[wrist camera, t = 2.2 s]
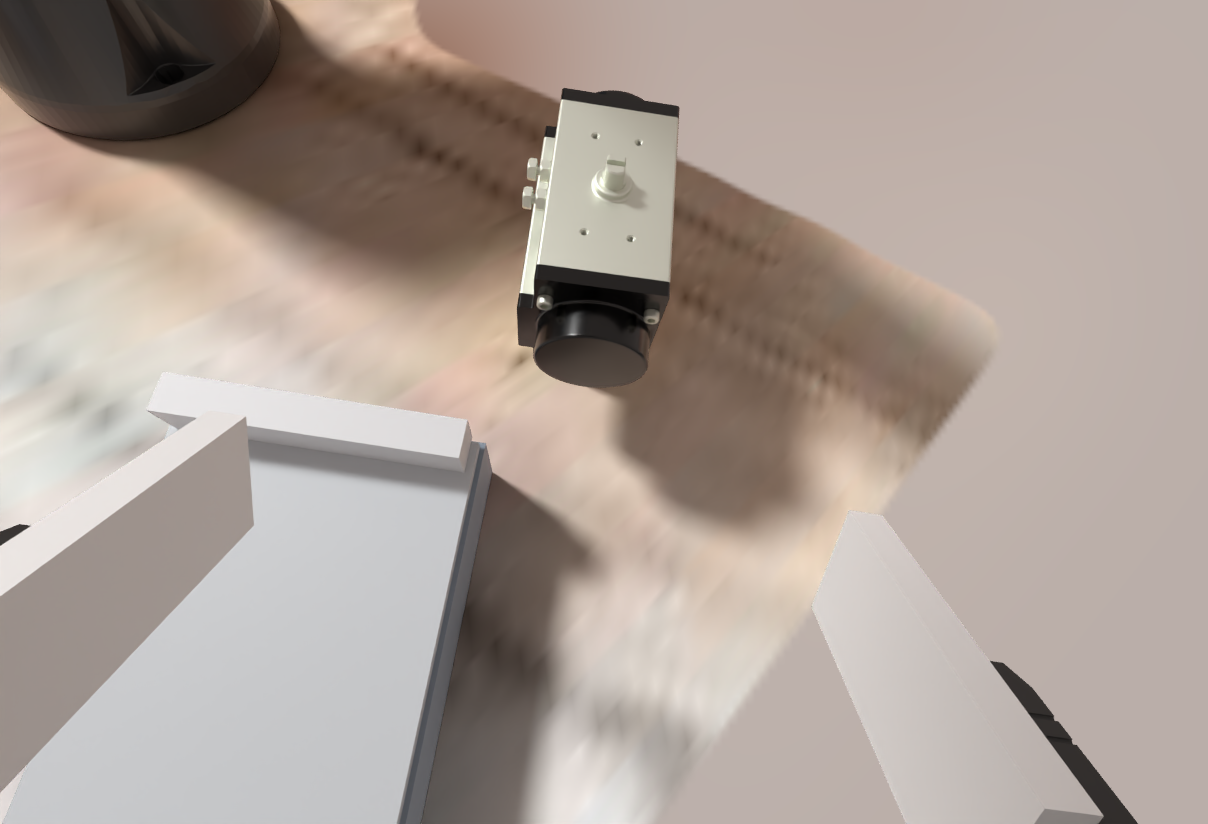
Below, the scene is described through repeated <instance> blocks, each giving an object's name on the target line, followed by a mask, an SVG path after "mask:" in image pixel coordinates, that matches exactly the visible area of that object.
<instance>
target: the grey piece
mask: <svg viewBox="0 0 1208 824" xmlns="http://www.w3.org/2000/svg"><path fill="white" fill-rule="evenodd" d="M146 410H147V411H148V412H150V413H152V414H153V415H155V416H157V417H158V418H160V419H162V420H163V421H165V422H166V423H168V424H170V426H169V428H168V431H167V433H166V435H165V438H164V439H166V438H167V437H169V436H170V435H172V434H173V433H175V432H176V431H178V430H179V429H181V428H183V427H184V426H186V425H187V424H189V423H190V422H192V421H193V420H195V419H196V418H198V417H199V416H201V415H203V414H204V413H206V412H207V411H209V410H210V411H216V412H223V413H229V414H235V415H242V416H246V420H247V434H248V448H249V462H250V476H251V490H252V504H253V518H254V526H253V527H252V528H251V529H250V530H249V531H248V532H247V533H246V534H245V535H244V536H243V537H242V538H241V540H240V541H239V542H238V543H237V544H236V545H235V546H234V547H233V548H232V549H231V550H230V551H229V552H228V553H227V554H226V555H225V556H224V557H223V558H222V560H221V561H220V562H219V563H218V564H217V565H216V566H215V567H214V568H213V569H212V570H211V571H210V572H209V573H208V574H207V575H206V576H205V577H204V578H203V580H202V581H201V582H200V583H199V584H198V585H197V586H196V587H195V588H194V589H193V590H192V591H191V592H190V593H189V594H188V595H187V596H186V597H185V599H184V600H183V601H182V602H181V603H180V604H179V605H178V606H177V607H176V608H175V609H174V610H173V611H172V612H171V613H170V614H169V615H168V616H167V617H166V619H165V620H164V621H163V622H162V623H161V624H160V625H159V626H158V627H157V628H156V629H155V630H154V631H153V632H152V633H151V634H150V635H149V636H148V637H147V639H146V640H145V641H144V642H143V643H142V644H141V645H140V646H139V647H138V648H137V649H136V650H135V651H134V652H133V653H132V654H131V655H130V656H129V657H128V659H127V660H126V661H125V662H124V663H123V664H122V665H121V666H120V667H119V668H118V669H117V670H116V671H115V672H114V673H113V674H112V675H111V676H110V677H109V679H108V680H107V681H106V682H105V683H104V684H103V685H102V686H101V687H100V688H99V689H98V690H97V691H96V692H95V693H94V694H93V695H92V696H91V697H90V699H89V700H88V701H87V702H86V703H85V704H84V705H83V706H82V707H81V708H80V709H79V710H78V711H77V712H76V713H75V714H74V715H73V716H72V717H71V719H70V720H69V721H68V722H67V723H66V724H65V725H64V726H63V727H62V728H61V729H60V730H59V731H58V732H57V733H56V734H55V735H54V736H53V738H52V739H51V740H50V741H49V742H48V743H47V744H46V745H45V746H44V747H43V748H42V749H41V750H40V751H39V752H38V753H37V754H36V755H35V756H34V758H33V759H32V760H31V761H30V762H29V763H28V764H27V766H26V768H25V771H24V773H23V776H22V778H21V780H20V783H19V785H18V787H17V790H16V792H15V795H14V797H13V799H12V802H11V804H10V807H9V809H8V811H7V814H6V816H5V818H4V821H3V823H2V824H421V821H422V816H423V811H424V806H425V801H426V796H427V791H428V786H429V781H430V776H431V771H432V766H433V761H434V756H435V752H436V747H437V742H438V737H439V732H440V727H441V722H442V717H443V712H444V707H445V702H446V697H447V692H448V688H449V683H450V678H451V673H452V668H453V663H454V658H455V653H456V648H457V643H458V638H459V633H460V628H461V624H462V619H463V614H464V609H465V604H466V599H467V594H468V589H469V584H470V579H471V574H472V569H473V564H474V560H475V555H476V550H477V545H478V540H479V535H480V530H481V525H482V520H483V515H484V510H485V505H486V500H487V496H488V491H489V486H490V481H491V476H492V468H491V464H490V459H489V455H488V451H487V446H486V443H480V442H473V441H472V434H471V430H470V427H469V423H468V420H466V419H459V418H453V417H447V416H440V415H434V414H428V413H421V412H415V411H409V410H402V409H396V408H390V407H383V406H377V405H371V404H364V403H358V402H352V401H345V400H339V399H333V398H326V397H320V396H314V395H307V394H301V393H295V392H288V391H282V390H276V389H269V388H263V387H256V386H250V385H244V384H237V383H231V382H225V381H218V380H212V379H206V378H199V377H193V376H187V375H180V374H174V373H168V372H162V375H161V377H160V379H159V381H158V384H157V386H156V388H155V390H154V393H153V395H152V397H151V400H150V402H149V404H148V406H147V409H146Z"/></svg>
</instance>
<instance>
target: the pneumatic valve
mask: <svg viewBox="0 0 1208 824" xmlns="http://www.w3.org/2000/svg"><path fill="white" fill-rule="evenodd" d="M678 124H679V107H678V106H674V105H667V104H662V103H655V102H648V101H644V100H643V99H641V98H639V97H637V96H635V95H633V94H630V93H627V92H622V91H601V92H597V93H592V92H586V91H580V90H573V89H567V88H564V89H562V95H561V102H560V108H559V115H558V122H557V127H552V126H546V128H545V134H544V140H543V147H542V153H541V159H540V166H538V160H537V159H536V158H529V160H528V167H527V179H528V180H530V181H536V176H537V175H538V178H537V185H536V191H535V194H533V187H528V186H526V187H524V190H523V198H522V208H524V209H530V210H531V207H532V203H533V210H532V216H531V223H530V229H529V235H528V242H527V248H526V254H525V260H524V267H523V273H522V279H521V286H520V292H519V298H518V305H517V320H518V344H519V345H520V346H528V347H533V358H534V361H535V363H536V365H537V366H538V367H539V368H540V369H541V370H542V371H543V372H545V373H546V374H548V375H549V376H551V377H553V378H555V379H558V380H560V381H563V382H566V383H570V384H574V385H579V386H585V387H616V386H622V385H626V384H629V383H632V382H634V381H636V380H638V379H639V378H641V377H642V376H643V375H644V374H645V372H646V371H647V368H648V356H649V348H650V346H651V343H652V341H653V338H654V336H655V333H656V331H657V328H658V326H659V323H660V321H661V318H662V316H663V313H664V311H665V308H666V306H667V303H668V301H669V296H670V277H671V258H672V239H673V220H674V200H675V181H676V162H677V143H678Z"/></svg>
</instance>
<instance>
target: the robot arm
mask: <svg viewBox="0 0 1208 824" xmlns="http://www.w3.org/2000/svg"><path fill="white" fill-rule="evenodd" d="M279 44H280V30H279V24H278V20H277V17H276V14H275V12H274V9H273V7H272V4H271V2H270V0H0V87H1V88H2V89H3V90H4V91H5V93H6V94H7V95H8V96H9V97H10V98H11V99H12V100H13V101H14V102H15V103H16V104H17V105H18V106H19V107H20V108H21V109H23V110H24V111H25V112H27V113H28V114H29V115H31V116H32V117H34V118H36V119H37V120H39V121H41V122H43V123H45V124H47V125H49V126H51V127H54V128H56V129H59V130H62V131H65V132H68V133H72V134H76V135H80V136H85V137H91V138H99V139H111V140H133V139H146V138H154V137H160V136H166V135H170V134H174V133H178V132H182V131H185V130H189V129H192V128H194V127H197V126H200V125H202V124H205V123H207V122H209V121H212V120H214V119H216V118H218V117H220V116H222V115H223V114H225V113H227V112H228V111H230V110H232V109H233V108H235V107H236V106H238V105H239V104H240V103H242V102H243V101H244V100H245V99H247V98H248V97H249V96H250V95H251V94H252V93H253V92H254V91H255V90H256V89H257V88H258V87H259V86H260V85H261V84H262V82H263V81H264V80H265V78H266V77H267V75H268V74H269V72H270V71H271V69H272V67H273V65H274V62H275V60H276V57H277V54H278V50H279ZM253 526H254V518H253V504H252V490H251V476H250V462H249V448H248V434H247V420H246V416H242V415H235V414H229V413H223V412H216V411H210V410H209V411H207V412H206V413H204V414H203V415H201V416H199V417H198V418H196V419H195V420H193V421H192V422H190V423H189V424H187V425H186V426H184V427H183V428H181V429H179V430H178V431H176V432H175V433H173V434H172V435H170V436H169V437H167V438H166V439H164V440H163V441H161V442H159V443H158V444H156V445H155V446H153V447H152V448H150V449H149V450H147V451H146V452H144V453H143V454H141V455H139V456H138V457H136V458H135V459H133V460H132V461H130V462H129V463H127V464H126V465H124V466H123V467H121V468H119V469H118V470H116V471H115V472H113V473H112V474H110V475H109V476H107V477H106V478H104V479H103V480H101V481H99V482H98V483H96V484H95V485H93V486H92V487H90V488H89V489H87V490H86V491H84V492H83V493H81V494H79V495H78V496H76V497H75V498H73V499H72V500H70V501H69V502H67V503H66V504H64V505H63V506H61V507H59V508H58V509H56V510H55V511H53V512H52V513H50V514H49V515H47V516H46V517H44V518H43V519H41V520H39V521H38V522H36V523H35V524H33V525H32V526H28V525H21V524H19V525H16V526H14V527H11V528H9V529H6V530H4V531H1V532H0V792H1V791H2V790H3V789H4V788H5V787H6V786H7V785H8V784H9V783H10V782H11V781H12V780H13V779H14V778H15V776H16V775H17V774H18V773H19V772H20V771H21V770H22V769H23V768H24V767H25V766H26V765H27V764H28V763H29V762H30V761H31V760H32V759H33V758H34V756H35V755H36V754H37V753H38V752H39V751H40V750H41V749H42V748H43V747H44V746H45V745H46V744H47V743H48V742H49V741H50V740H51V739H52V738H53V736H54V735H55V734H56V733H57V732H58V731H59V730H60V729H61V728H62V727H63V726H64V725H65V724H66V723H67V722H68V721H69V720H70V719H71V717H72V716H73V715H74V714H75V713H76V712H77V711H78V710H79V709H80V708H81V707H82V706H83V705H84V704H85V703H86V702H87V701H88V700H89V699H90V697H91V696H92V695H93V694H94V693H95V692H96V691H97V690H98V689H99V688H100V687H101V686H102V685H103V684H104V683H105V682H106V681H107V680H108V679H109V677H110V676H111V675H112V674H113V673H114V672H115V671H116V670H117V669H118V668H119V667H120V666H121V665H122V664H123V663H124V662H125V661H126V660H127V659H128V657H129V656H130V655H131V654H132V653H133V652H134V651H135V650H136V649H137V648H138V647H139V646H140V645H141V644H142V643H143V642H144V641H145V640H146V639H147V637H148V636H149V635H150V634H151V633H152V632H153V631H154V630H155V629H156V628H157V627H158V626H159V625H160V624H161V623H162V622H163V621H164V620H165V619H166V617H167V616H168V615H169V614H170V613H171V612H172V611H173V610H174V609H175V608H176V607H177V606H178V605H179V604H180V603H181V602H182V601H183V600H184V599H185V597H186V596H187V595H188V594H189V593H190V592H191V591H192V590H193V589H194V588H195V587H196V586H197V585H198V584H199V583H200V582H201V581H202V580H203V578H204V577H205V576H206V575H207V574H208V573H209V572H210V571H211V570H212V569H213V568H214V567H215V566H216V565H217V564H218V563H219V562H220V561H221V560H222V558H223V557H224V556H225V555H226V554H227V553H228V552H229V551H230V550H231V549H232V548H233V547H234V546H235V545H236V544H237V543H238V542H239V541H240V540H241V538H242V537H243V536H244V535H245V534H246V533H247V532H248V531H249V530H250V529H251V528H252V527H253ZM811 607H812V609H813V611H814V614H815V616H816V618H817V621H818V623H819V625H820V628H821V630H822V632H823V634H824V637H825V639H826V641H827V644H828V646H829V648H830V651H831V653H832V655H833V657H834V660H835V662H836V664H837V666H838V669H839V671H840V673H841V676H842V678H843V680H844V683H845V685H846V687H847V690H848V692H849V694H850V696H851V699H852V701H853V703H854V706H855V708H856V710H857V712H858V715H859V717H860V719H861V722H862V724H863V726H864V729H865V731H866V733H867V735H868V738H869V740H870V742H871V745H872V747H873V749H874V752H875V754H876V756H877V759H878V761H879V763H880V765H881V768H882V770H883V772H884V775H885V777H886V779H887V781H888V784H889V786H890V788H891V790H892V793H893V795H894V797H895V800H896V802H897V804H898V807H899V809H900V811H901V814H902V816H903V818H904V820H905V823H906V824H1138V823H1137V822H1136V820H1135V819H1134V818H1133V817H1132V815H1131V814H1130V813H1129V812H1128V810H1127V809H1126V808H1125V806H1124V805H1123V804H1122V803H1121V801H1120V800H1119V799H1118V798H1117V796H1116V795H1115V794H1114V792H1113V791H1112V790H1111V788H1110V787H1109V786H1108V785H1107V783H1106V782H1105V781H1104V780H1103V778H1102V777H1101V776H1100V774H1099V773H1098V772H1097V770H1096V769H1095V768H1094V767H1093V765H1092V764H1091V763H1090V761H1089V760H1088V759H1087V758H1086V756H1085V755H1084V754H1083V753H1082V751H1081V750H1080V749H1079V747H1078V746H1077V745H1073V744H1072V739H1071V737H1070V736H1069V735H1068V733H1067V732H1066V731H1065V729H1064V728H1063V727H1062V726H1061V724H1060V723H1059V722H1058V721H1054V715H1053V714H1052V713H1051V711H1050V710H1049V709H1048V708H1047V706H1046V705H1045V704H1044V703H1043V701H1042V700H1041V699H1040V697H1039V696H1038V695H1037V693H1036V692H1035V691H1034V690H1033V688H1032V687H1030V686H1029V685H1028V684H1027V683H1026V682H1025V681H1023V680H1022V679H1021V678H1020V677H1019V676H1018V675H1016V674H1015V673H1014V672H1013V671H1012V670H1010V669H1009V668H1008V667H1007V666H1006V665H1005V664H1004V663H999V662H993V661H989V660H988V658H987V657H986V655H985V654H984V653H983V651H982V650H981V649H980V647H979V646H978V645H977V643H976V642H975V641H974V639H973V638H972V636H971V635H970V634H969V632H968V631H967V630H966V628H965V627H964V626H963V624H962V623H961V622H960V620H959V619H958V617H957V616H956V615H955V613H954V612H953V611H952V609H951V608H950V607H949V605H948V604H947V603H946V601H945V600H944V598H943V597H942V596H941V595H940V593H939V592H938V590H937V589H936V588H935V586H934V585H933V584H932V582H931V581H930V579H929V578H928V577H927V575H926V574H925V573H924V571H923V570H922V569H921V567H920V566H919V565H918V563H917V562H916V560H915V559H914V558H913V556H912V555H911V554H910V552H909V551H908V550H907V548H906V547H905V546H904V544H903V543H902V541H901V540H900V539H899V537H898V536H897V535H896V533H895V532H894V531H893V529H892V528H891V527H890V525H889V524H888V522H887V521H886V520H885V518H884V517H883V516H882V515H878V514H871V513H865V512H858V511H852V510H849V511H848V514H847V517H846V519H845V522H844V524H843V527H842V529H841V532H840V534H839V537H838V540H837V542H836V545H835V547H834V550H833V552H832V555H831V558H830V560H829V563H828V565H827V568H826V570H825V573H824V576H823V578H822V581H821V583H820V586H819V588H818V591H817V593H816V596H815V599H814V601H813V604H812V606H811Z"/></svg>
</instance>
